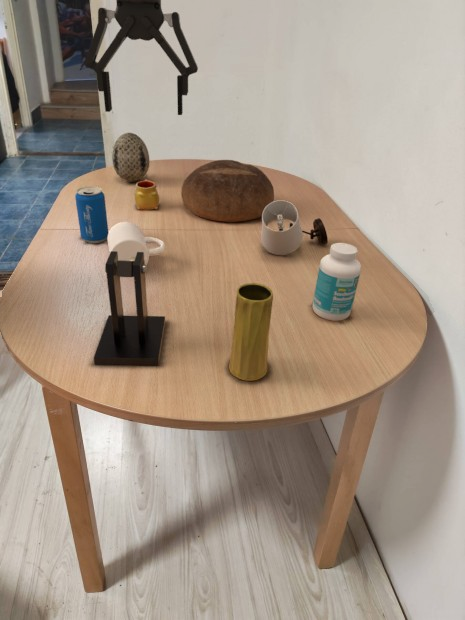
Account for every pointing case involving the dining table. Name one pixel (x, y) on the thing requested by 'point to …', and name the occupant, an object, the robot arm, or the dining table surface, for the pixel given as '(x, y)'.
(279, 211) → the light fixture
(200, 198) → the bread
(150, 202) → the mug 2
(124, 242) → the mug
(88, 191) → the beverage can
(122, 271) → the lever
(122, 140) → the decorative egg
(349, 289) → the pill bottle
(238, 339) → the vase
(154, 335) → the stand
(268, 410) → the dining table surface
